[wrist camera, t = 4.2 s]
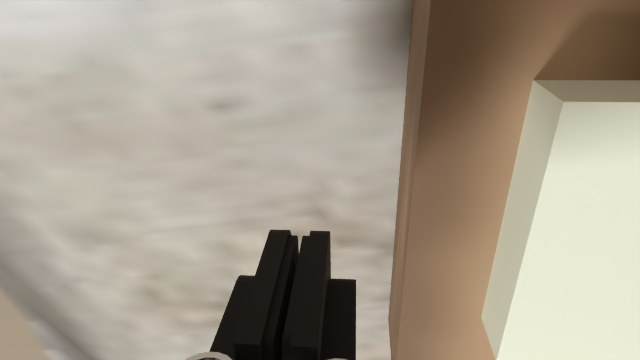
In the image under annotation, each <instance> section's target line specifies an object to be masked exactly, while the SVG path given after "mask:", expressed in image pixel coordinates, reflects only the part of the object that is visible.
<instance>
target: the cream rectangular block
mask: <svg viewBox="0 0 640 360" xmlns="http://www.w3.org/2000/svg"><path fill="white" fill-rule="evenodd" d="M481 318H482V321H483V324H484V327H485V330H486V333H487V336H488V339H489V342H490V345H491V348H492V351H493V354H494V357H495V360H640V80H533V82H532V87H531V92H530V96H529V101H528V105H527V110H526V115H525V119H524V124H523V128H522V133H521V137H520V142H519V147H518V151H517V156H516V160H515V165H514V170H513V174H512V179H511V183H510V188H509V192H508V197H507V202H506V206H505V211H504V215H503V220H502V225H501V229H500V234H499V238H498V243H497V247H496V252H495V257H494V261H493V266H492V270H491V275H490V279H489V284H488V289H487V293H486V298H485V302H484V307H483V312H482V316H481Z"/></svg>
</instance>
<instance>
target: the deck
mask: <svg viewBox="0 0 640 360" xmlns="http://www.w3.org/2000/svg"><path fill="white" fill-rule="evenodd" d="M533 80H640V0H413V9H412V22H411V35H410V48H409V61H408V74H407V87H406V99H405V112H404V125H403V138H402V151H401V164H400V177H399V190H398V203H397V216H396V229H395V242H394V255H393V267H392V280H391V293H390V306H389V319H388V320H389V334H390V347H391V360H495V357H494V354H493V351H492V348H491V345H490V342H489V339H488V336H487V333H486V330H485V327H484V324H483V321H482V318H481V316H482V312H483V307H484V302H485V298H486V293H487V289H488V284H489V279H490V275H491V270H492V266H493V261H494V257H495V252H496V247H497V243H498V238H499V234H500V229H501V225H502V220H503V215H504V211H505V206H506V202H507V197H508V192H509V188H510V183H511V179H512V174H513V170H514V165H515V160H516V156H517V151H518V147H519V142H520V137H521V133H522V128H523V124H524V119H525V115H526V110H527V105H528V101H529V96H530V92H531V87H532V82H533Z"/></svg>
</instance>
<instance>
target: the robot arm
mask: <svg viewBox="0 0 640 360" xmlns="http://www.w3.org/2000/svg"><path fill="white" fill-rule="evenodd" d="M187 360H356V280H351V279H331V261H330V231H310V236H303V237H302V242H301V247H300V252H299V250H298V237H297V236H293V235H291V232H290V230H270V232H269V235H268V238H267V241H266V244H265V247H264V250H263V253H262V256H261V259H260V262H259V265H258V268H257V271H256V274H255V276H245V275H240V276H239V277H238V279H237V281H236V284H235V286H234V289H233V291H232V294H231V297H230V299H229V302H228V305H227V307H226V310H225V312H224V315H223V318H222V320H221V323H220V326H219V328H218V331H217V333H216V336H215V339H214V341H213V344H212V347H211V349H210V352H205V353H200V354H197V355H194V356H192V357H190V358H188V359H187Z"/></svg>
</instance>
